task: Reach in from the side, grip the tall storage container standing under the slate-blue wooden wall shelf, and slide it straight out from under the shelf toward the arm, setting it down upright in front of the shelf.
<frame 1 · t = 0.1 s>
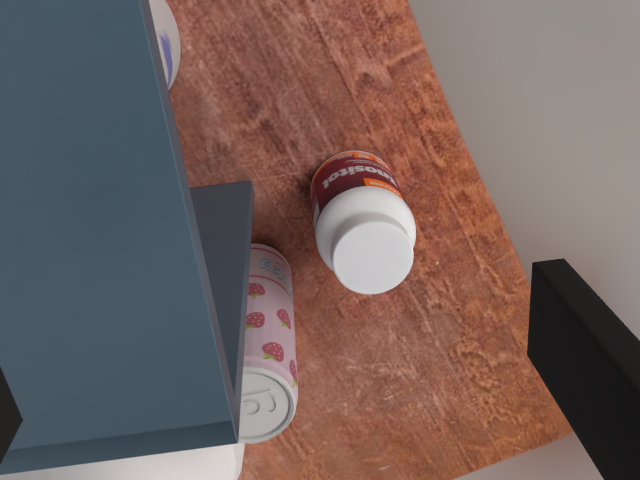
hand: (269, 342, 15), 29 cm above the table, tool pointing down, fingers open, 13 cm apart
container: (101, 42, 39), on the table
vase: (136, 374, 50), on the table
pill bottle: (350, 187, 44), on the table
beverage can: (254, 273, 47), on the table
shelf rack: (112, 86, 40), on the table
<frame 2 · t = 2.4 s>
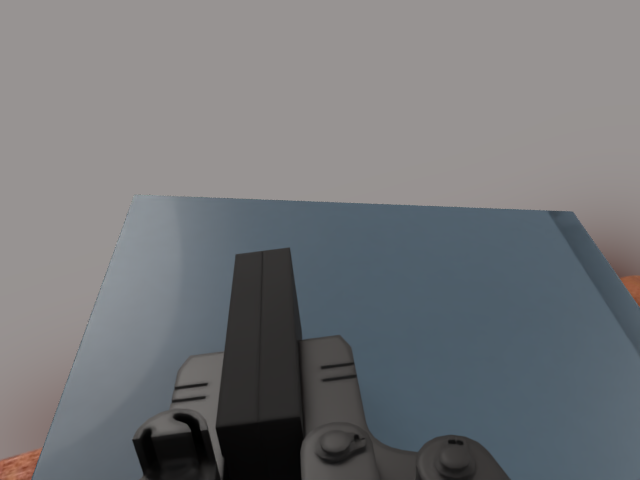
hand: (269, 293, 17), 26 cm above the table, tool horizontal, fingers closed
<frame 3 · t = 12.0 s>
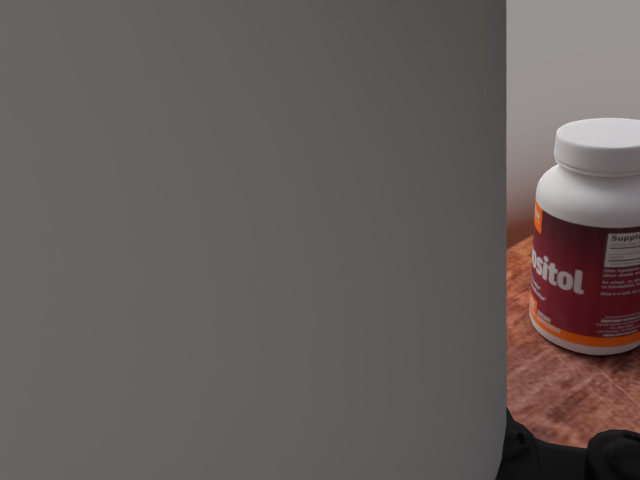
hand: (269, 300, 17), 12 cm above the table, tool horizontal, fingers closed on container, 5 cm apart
pill bottle: (587, 328, 34), on the table
when the fingers open (11 cm above the table, at t = 14.2 s): container stays where it is, on the table.
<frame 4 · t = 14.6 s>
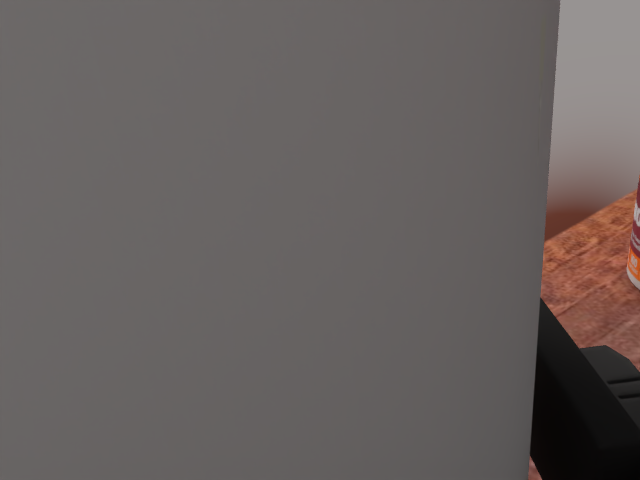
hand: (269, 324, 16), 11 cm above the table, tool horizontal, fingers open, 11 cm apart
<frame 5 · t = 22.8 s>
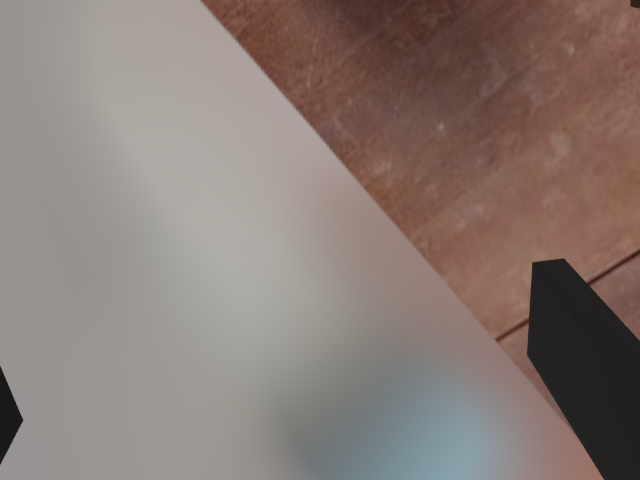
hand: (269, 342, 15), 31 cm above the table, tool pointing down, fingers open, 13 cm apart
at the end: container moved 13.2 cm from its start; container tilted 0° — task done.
